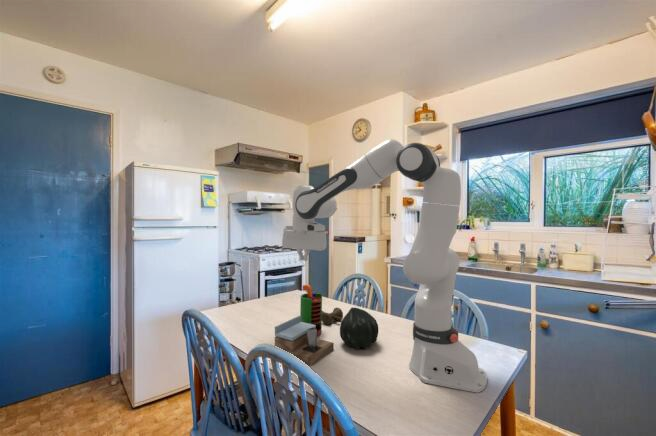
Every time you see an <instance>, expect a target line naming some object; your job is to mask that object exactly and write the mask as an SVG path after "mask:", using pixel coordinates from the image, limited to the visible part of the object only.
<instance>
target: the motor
mask: <svg viewBox="0 0 656 436" xmlns="http://www.w3.org/2000/svg"><path fill="white" fill-rule="evenodd" d="M302 291H306V292H307V293H302V294H301V295H300V305H299V306H300V308H299V309H300V310H299V311H300V313H299V314H300V315H299V316H301V322H304V323H309V324H313V325H316V328H315V329H317V337H319V335H320V336H321V335H322V326H323V325H322V324H323V322H322V311H323V310H322V309H323V294H322V293H319V292H313V291H312V286H311V285H310V284H303V285H302Z"/></svg>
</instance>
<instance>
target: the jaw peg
mask: <svg viewBox="0 0 656 436" xmlns="http://www.w3.org/2000/svg"><path fill="white" fill-rule="evenodd" d="M317 339H318V336H317V329H315V328H309V329H307V351H309V352H312V353H315V352H316V351H317Z"/></svg>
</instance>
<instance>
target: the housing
mask: <svg viewBox="0 0 656 436" xmlns="http://www.w3.org/2000/svg"><path fill="white" fill-rule="evenodd" d="M275 346H277V347H279V348H281V349H283V350H285V351H287V352H289V353H291V354H293V355H294V356H296V357H297V358H299V359H300V360H302V361H303V362H305V363H306V364H305V365H307V366H309V367H310V366H313V365H314V364H316V363H317V362H318V361H320V360H321V359H322V358H324V357H326V356H327V355H328V354H330V353H331V352H332V351H334V347H335V346H334V342H332V341H328V340H324V339H321V338H317V351H316V352H315V353H312V352H309V351H307V333H306V334H304V335H302V336H300V337H298V338H297V339H295V340H293V341H291V340H288V339H284V338H281V337H277V336H274V347H275Z"/></svg>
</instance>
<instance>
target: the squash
mask: <svg viewBox="0 0 656 436" xmlns="http://www.w3.org/2000/svg"><path fill="white" fill-rule="evenodd" d="M379 330H380V329H379V324H378V322H377V320H376V318H374V316H372V315H371V314H370V313H369V312H367V311H366V310H364V309H360V308H359V307H351V308H350V309H349V310H348V312H347V313H346V314H345V315H344V316H343V318H342V320H341V322H340V326H339V337H340V339H341V340H342V341H343V342H344V343H345V345H346V346H347V347H351V348H352V347H354V348H355V349H356V350H359V349H361V348H362V349H364V350H365V349H369V347H370V346H371V345H374V344H375V343H377V340H378V337H379Z"/></svg>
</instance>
